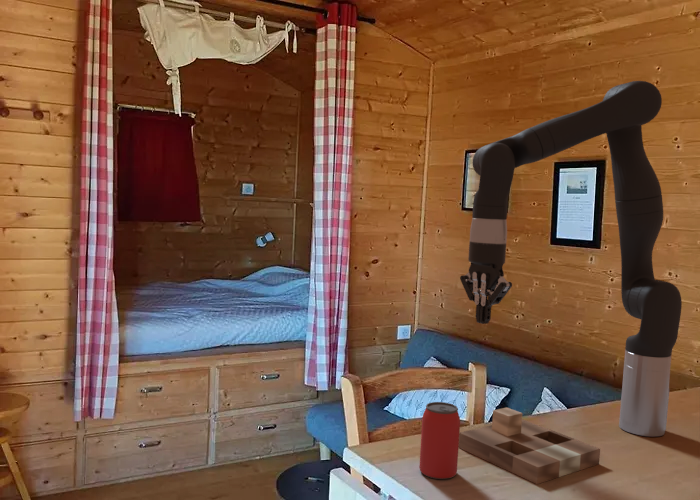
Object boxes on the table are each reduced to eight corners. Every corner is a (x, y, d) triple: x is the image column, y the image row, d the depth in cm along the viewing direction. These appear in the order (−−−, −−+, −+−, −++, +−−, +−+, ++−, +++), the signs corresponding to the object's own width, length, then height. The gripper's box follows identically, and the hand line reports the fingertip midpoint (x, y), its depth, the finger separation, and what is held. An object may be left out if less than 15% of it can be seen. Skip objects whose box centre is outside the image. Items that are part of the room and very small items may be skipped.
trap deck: (519, 432, 141) (520, 418, 140) (599, 464, 125) (600, 448, 125) (458, 447, 130) (459, 432, 130) (536, 484, 115) (538, 467, 115)
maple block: (505, 426, 135) (506, 407, 134) (521, 432, 131) (522, 413, 131) (491, 429, 132) (493, 410, 132) (507, 436, 129) (508, 416, 129)
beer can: (433, 483, 113) (437, 414, 112) (412, 468, 119) (415, 402, 118) (464, 477, 116) (468, 410, 115) (442, 463, 122) (446, 399, 121)
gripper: (525, 243, 135) (519, 327, 136) (477, 238, 146) (472, 316, 147) (499, 243, 131) (494, 330, 132) (452, 238, 141) (447, 318, 143)
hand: (482, 322), depth 140 cm, fingers closed
